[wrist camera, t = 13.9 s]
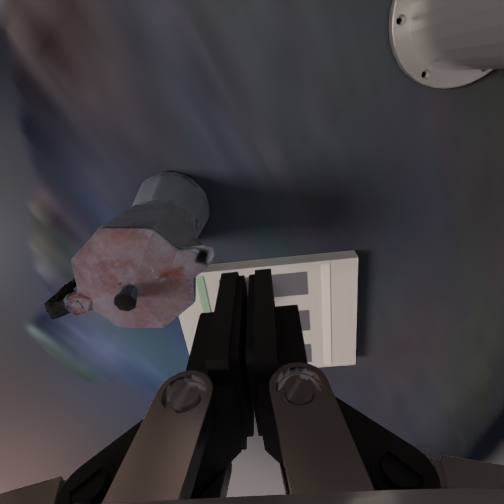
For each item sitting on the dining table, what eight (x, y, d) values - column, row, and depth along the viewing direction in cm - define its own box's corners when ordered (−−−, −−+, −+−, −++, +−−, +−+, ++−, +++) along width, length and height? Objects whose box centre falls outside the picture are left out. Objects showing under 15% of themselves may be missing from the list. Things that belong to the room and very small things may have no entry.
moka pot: (246, 218, 41) (236, 324, 23) (141, 264, 44) (63, 387, 27) (208, 145, 37) (163, 206, 20) (96, 201, 41) (-30, 297, 23)
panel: (354, 250, 43) (358, 257, 41) (352, 354, 51) (355, 365, 49) (171, 268, 45) (167, 276, 43) (197, 366, 53) (195, 377, 51)
